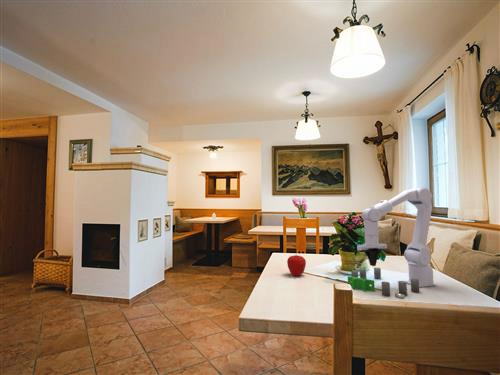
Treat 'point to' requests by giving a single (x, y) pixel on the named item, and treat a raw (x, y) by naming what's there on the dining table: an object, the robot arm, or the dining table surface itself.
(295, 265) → the red rounded piece
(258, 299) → the dining table surface
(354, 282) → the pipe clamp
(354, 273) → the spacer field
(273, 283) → the dining table surface
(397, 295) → the steel nut
